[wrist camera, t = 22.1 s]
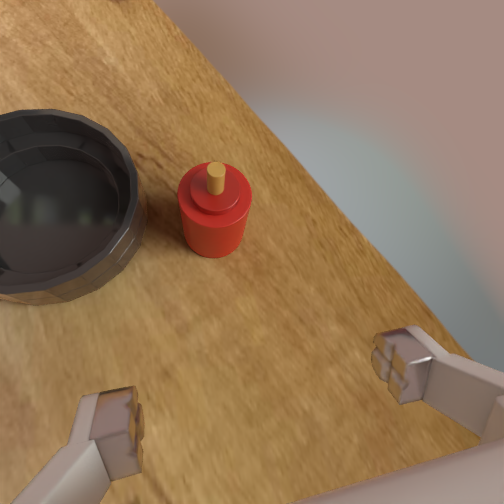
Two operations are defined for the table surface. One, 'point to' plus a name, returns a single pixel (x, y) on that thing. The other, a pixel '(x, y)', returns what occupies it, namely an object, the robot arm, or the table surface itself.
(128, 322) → the table surface
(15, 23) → the table surface
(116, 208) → the bowl
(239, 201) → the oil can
